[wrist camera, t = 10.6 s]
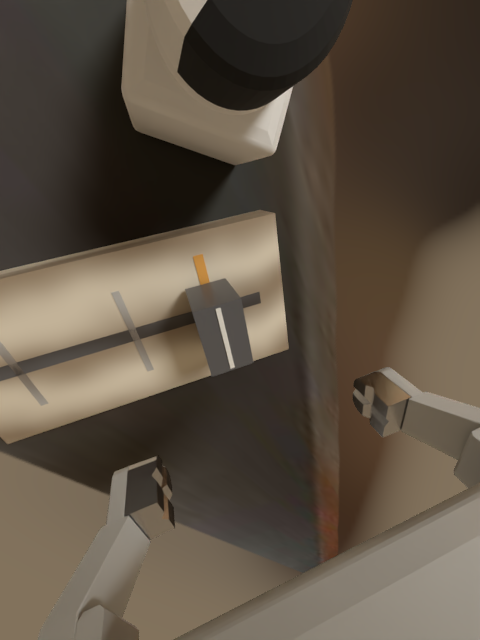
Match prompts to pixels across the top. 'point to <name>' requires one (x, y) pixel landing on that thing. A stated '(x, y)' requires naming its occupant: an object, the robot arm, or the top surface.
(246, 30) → the medicine bottle
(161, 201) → the top surface
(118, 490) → the robot arm
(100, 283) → the control strip
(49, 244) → the top surface
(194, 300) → the fader knob
